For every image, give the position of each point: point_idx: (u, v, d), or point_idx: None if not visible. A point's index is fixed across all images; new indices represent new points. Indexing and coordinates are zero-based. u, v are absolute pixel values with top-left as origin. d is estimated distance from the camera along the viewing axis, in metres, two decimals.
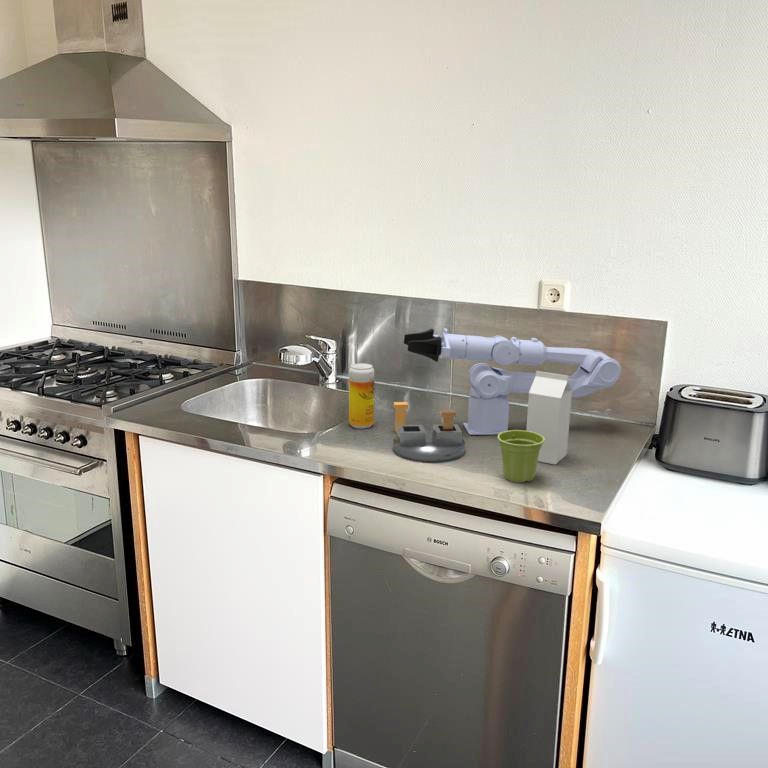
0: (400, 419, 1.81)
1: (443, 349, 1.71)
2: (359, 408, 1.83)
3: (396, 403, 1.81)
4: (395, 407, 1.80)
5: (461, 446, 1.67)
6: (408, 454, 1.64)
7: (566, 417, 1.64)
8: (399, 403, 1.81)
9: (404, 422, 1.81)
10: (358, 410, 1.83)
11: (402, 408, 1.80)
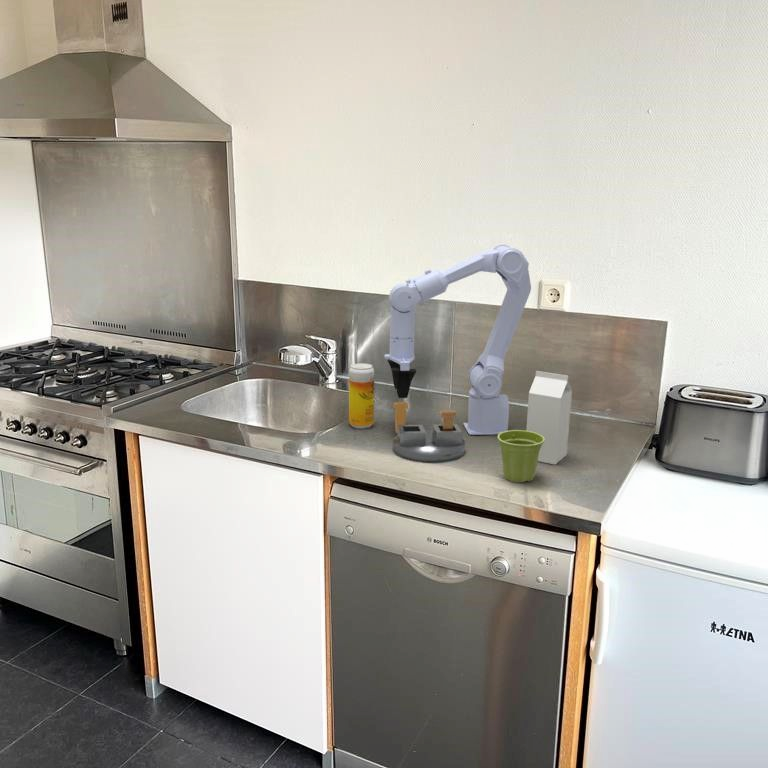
0: (400, 419, 1.81)
1: (402, 369, 1.71)
2: (359, 408, 1.83)
3: (396, 403, 1.81)
4: (395, 407, 1.80)
5: (461, 446, 1.67)
6: (408, 454, 1.64)
7: (566, 417, 1.64)
8: (399, 403, 1.81)
9: (404, 422, 1.81)
10: (358, 410, 1.83)
11: (402, 408, 1.80)
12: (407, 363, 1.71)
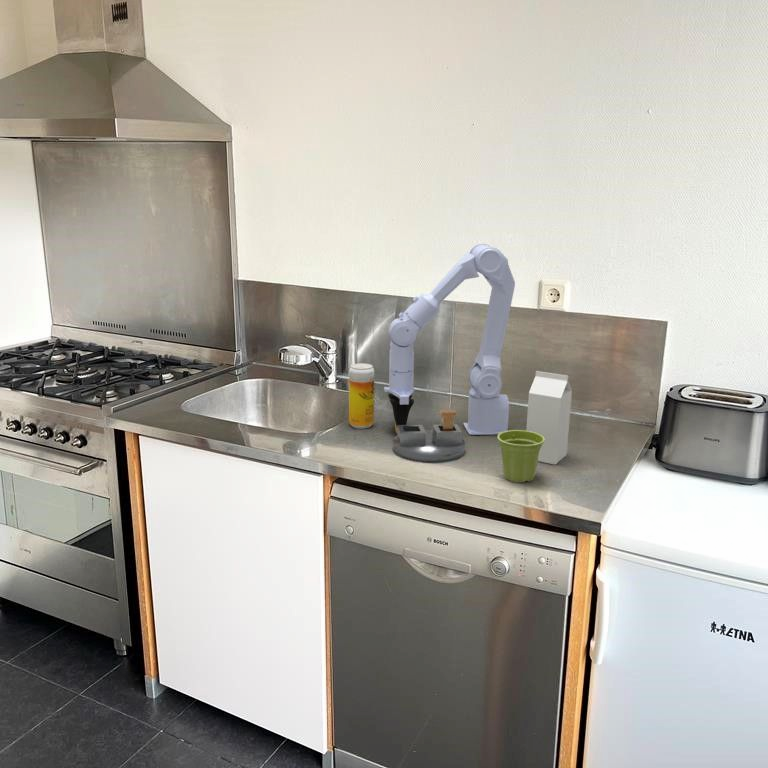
0: None
1: (401, 403, 1.73)
2: (359, 408, 1.83)
3: None
4: None
5: (461, 446, 1.67)
6: (408, 454, 1.64)
7: (566, 417, 1.64)
8: None
9: None
10: (358, 410, 1.83)
11: None
12: (406, 397, 1.73)
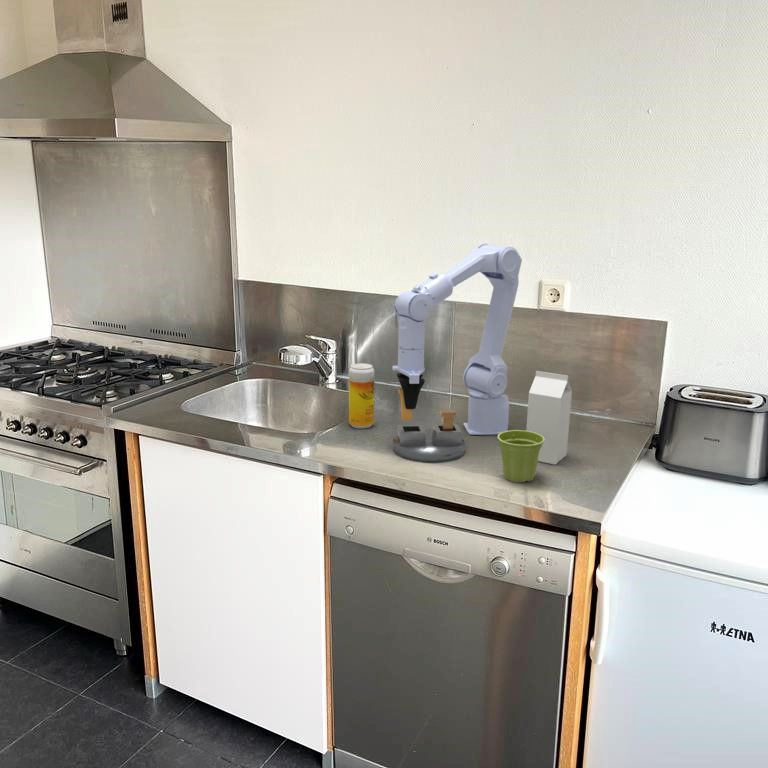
0: None
1: (411, 382, 1.61)
2: (359, 408, 1.83)
3: (401, 388, 1.69)
4: (400, 393, 1.68)
5: (461, 446, 1.67)
6: (408, 454, 1.64)
7: (566, 417, 1.64)
8: None
9: None
10: (358, 410, 1.83)
11: None
12: (417, 376, 1.61)
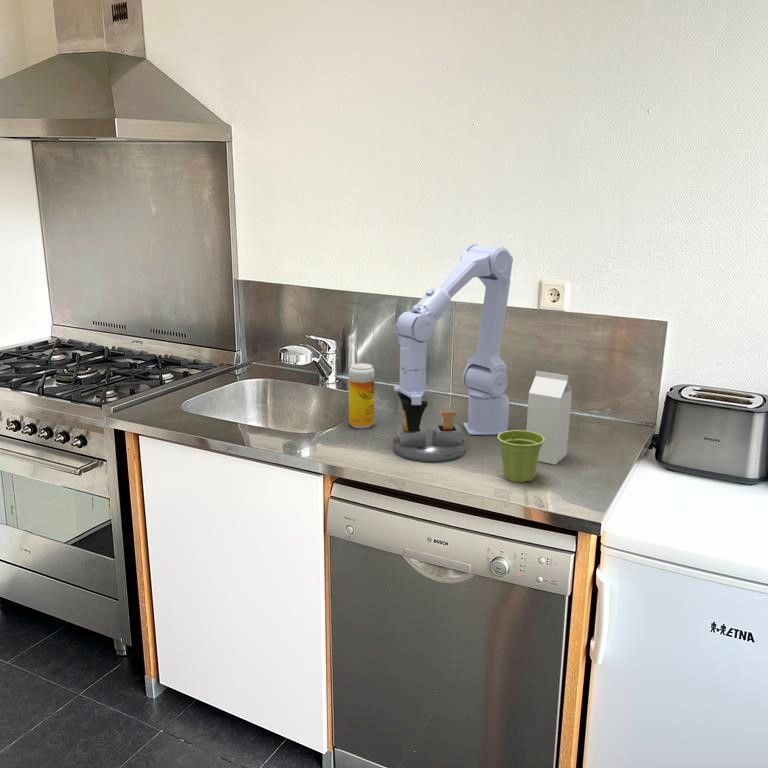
0: None
1: (413, 403, 1.60)
2: (359, 408, 1.83)
3: None
4: (404, 415, 1.67)
5: (461, 446, 1.67)
6: (408, 454, 1.64)
7: (566, 417, 1.64)
8: None
9: None
10: (358, 410, 1.83)
11: None
12: (419, 397, 1.60)
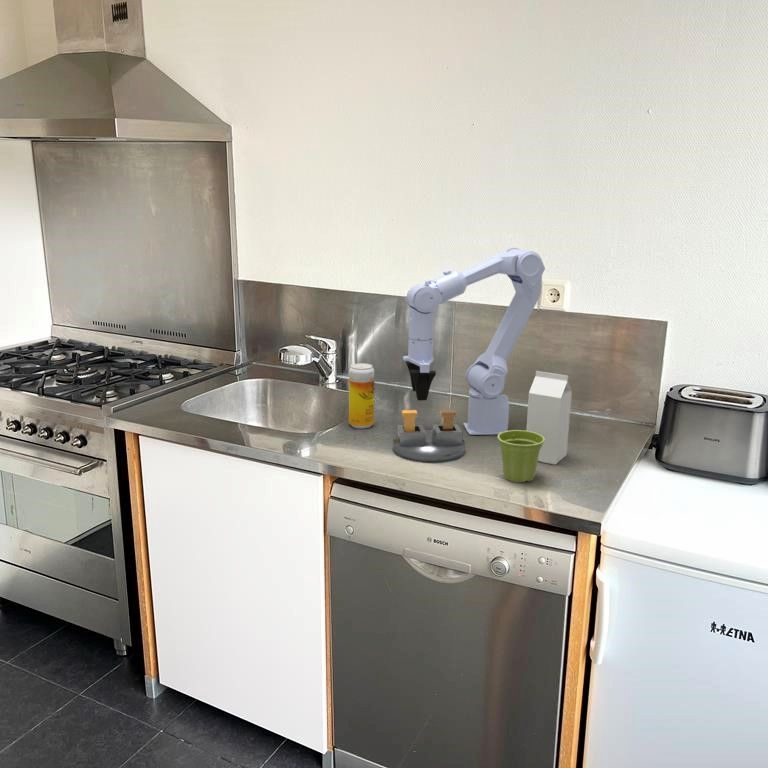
0: (409, 429, 1.68)
1: (422, 371, 1.68)
2: (359, 408, 1.83)
3: (404, 411, 1.68)
4: (403, 415, 1.67)
5: (461, 446, 1.67)
6: (408, 454, 1.64)
7: (565, 417, 1.64)
8: (408, 411, 1.68)
9: None
10: (358, 410, 1.83)
11: (411, 417, 1.67)
12: (427, 365, 1.68)
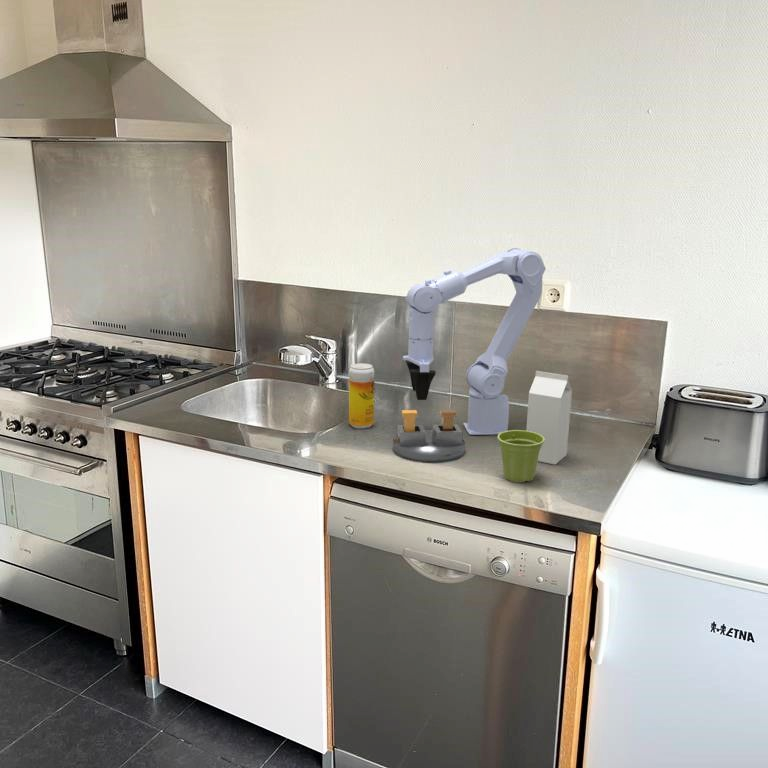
0: (409, 429, 1.68)
1: (422, 371, 1.69)
2: (359, 408, 1.83)
3: (404, 411, 1.68)
4: (403, 415, 1.67)
5: (461, 446, 1.67)
6: (408, 454, 1.64)
7: (566, 417, 1.64)
8: (408, 411, 1.68)
9: None
10: (358, 410, 1.83)
11: (411, 417, 1.67)
12: (427, 364, 1.68)
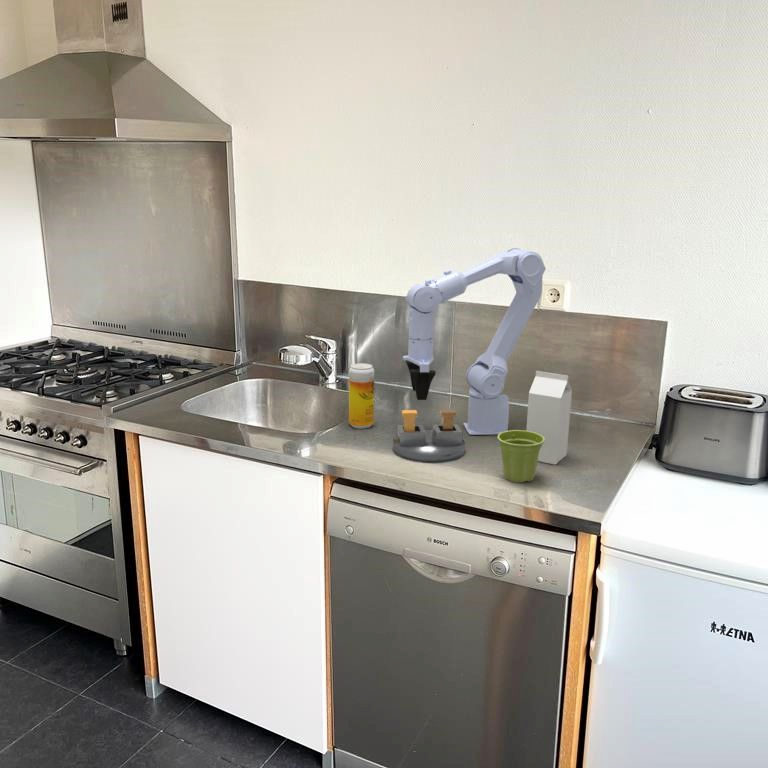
0: (409, 429, 1.68)
1: (422, 371, 1.69)
2: (359, 408, 1.83)
3: (404, 411, 1.68)
4: (403, 416, 1.67)
5: (461, 446, 1.67)
6: (408, 454, 1.64)
7: (566, 417, 1.64)
8: (408, 411, 1.68)
9: None
10: (358, 410, 1.83)
11: (411, 417, 1.67)
12: (427, 364, 1.68)
